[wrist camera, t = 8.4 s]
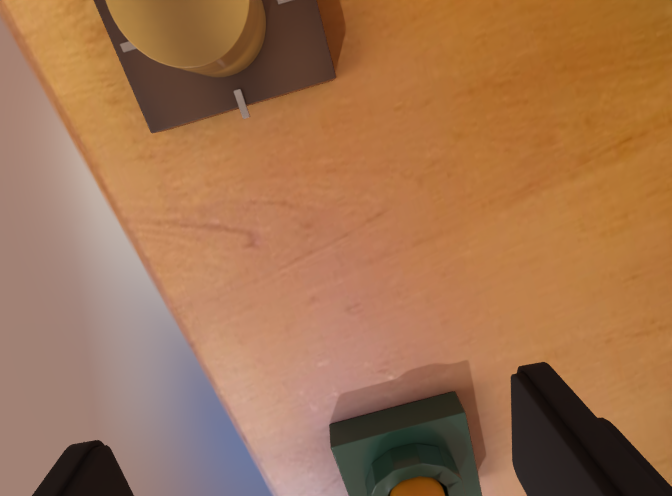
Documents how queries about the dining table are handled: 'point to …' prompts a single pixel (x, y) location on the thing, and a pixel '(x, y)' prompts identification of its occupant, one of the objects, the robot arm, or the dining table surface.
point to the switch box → (407, 448)
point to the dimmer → (236, 90)
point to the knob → (194, 32)
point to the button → (418, 487)
